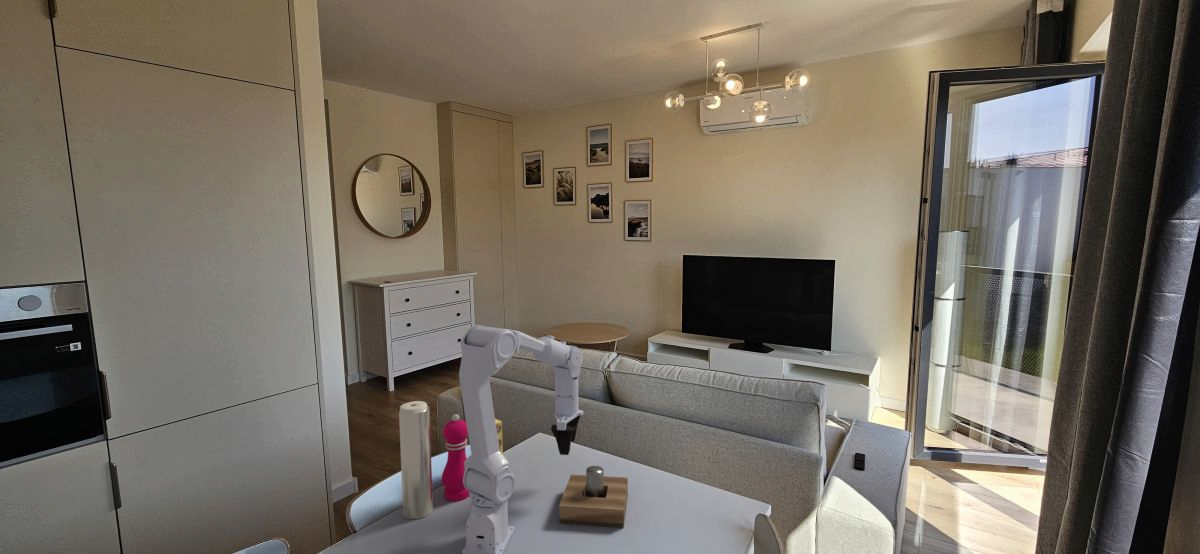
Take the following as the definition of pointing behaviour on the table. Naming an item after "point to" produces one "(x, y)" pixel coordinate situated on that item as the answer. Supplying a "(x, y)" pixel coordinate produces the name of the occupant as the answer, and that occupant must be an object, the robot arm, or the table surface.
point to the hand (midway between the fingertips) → (567, 447)
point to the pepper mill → (455, 459)
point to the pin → (594, 481)
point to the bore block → (594, 503)
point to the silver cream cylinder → (416, 459)
